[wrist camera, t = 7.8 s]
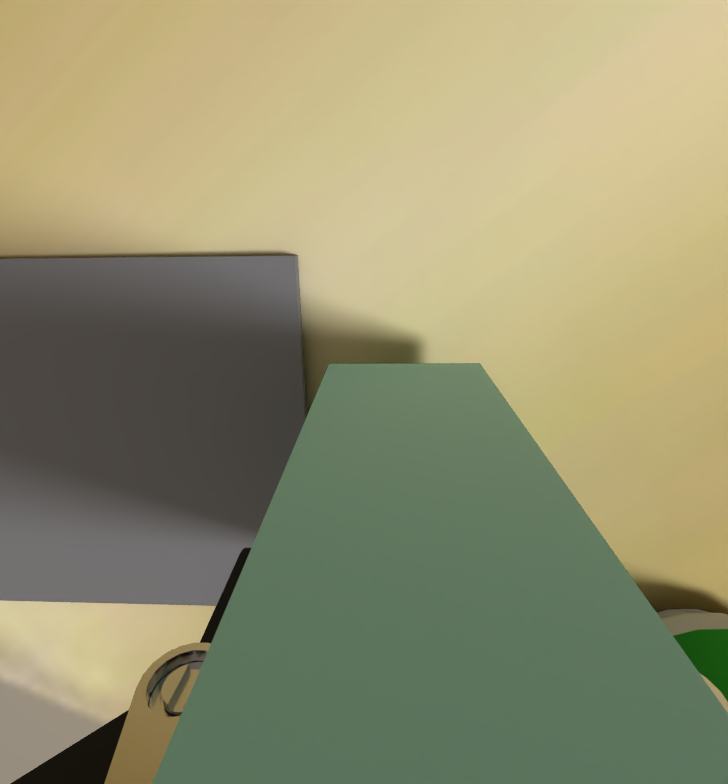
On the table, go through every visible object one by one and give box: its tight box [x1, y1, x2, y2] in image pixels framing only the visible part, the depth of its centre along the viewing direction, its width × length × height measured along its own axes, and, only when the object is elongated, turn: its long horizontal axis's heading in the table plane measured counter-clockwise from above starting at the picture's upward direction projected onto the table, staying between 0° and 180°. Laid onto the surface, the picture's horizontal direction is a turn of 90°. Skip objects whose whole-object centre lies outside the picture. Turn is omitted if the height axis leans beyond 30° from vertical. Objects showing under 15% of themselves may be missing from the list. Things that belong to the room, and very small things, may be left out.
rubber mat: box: [0, 255, 307, 606], centre depth 15 cm, size 12×12×1 cm
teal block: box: [152, 363, 728, 784], centre depth 8 cm, size 7×4×12 cm, turn 1°
